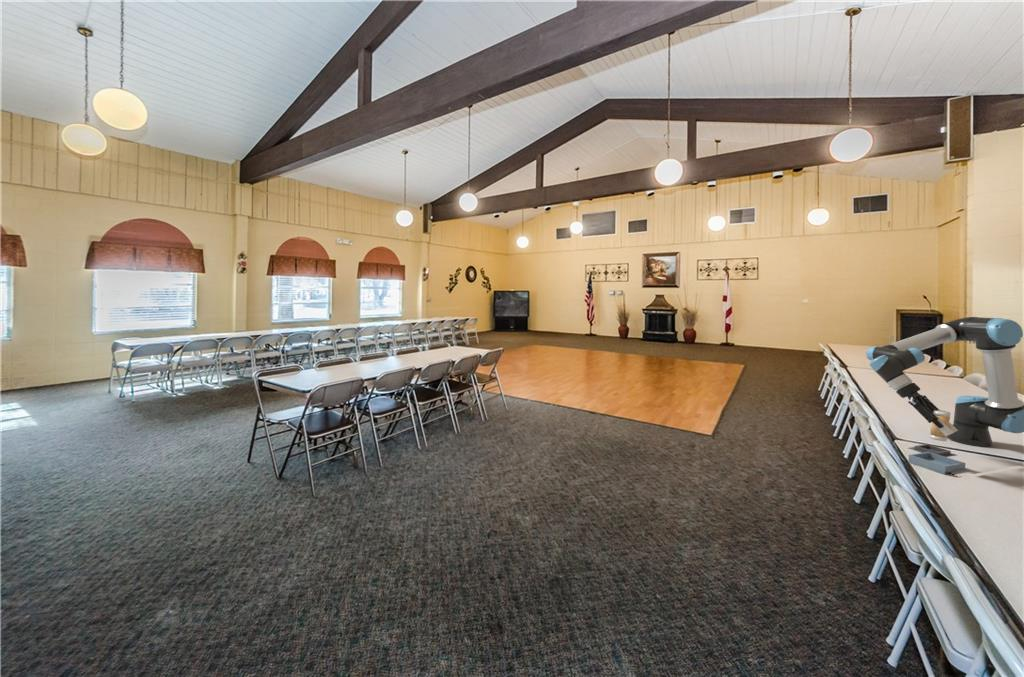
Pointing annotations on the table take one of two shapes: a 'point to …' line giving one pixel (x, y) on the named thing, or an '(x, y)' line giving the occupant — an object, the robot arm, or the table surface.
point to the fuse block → (932, 450)
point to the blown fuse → (935, 432)
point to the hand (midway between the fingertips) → (952, 433)
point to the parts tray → (936, 462)
